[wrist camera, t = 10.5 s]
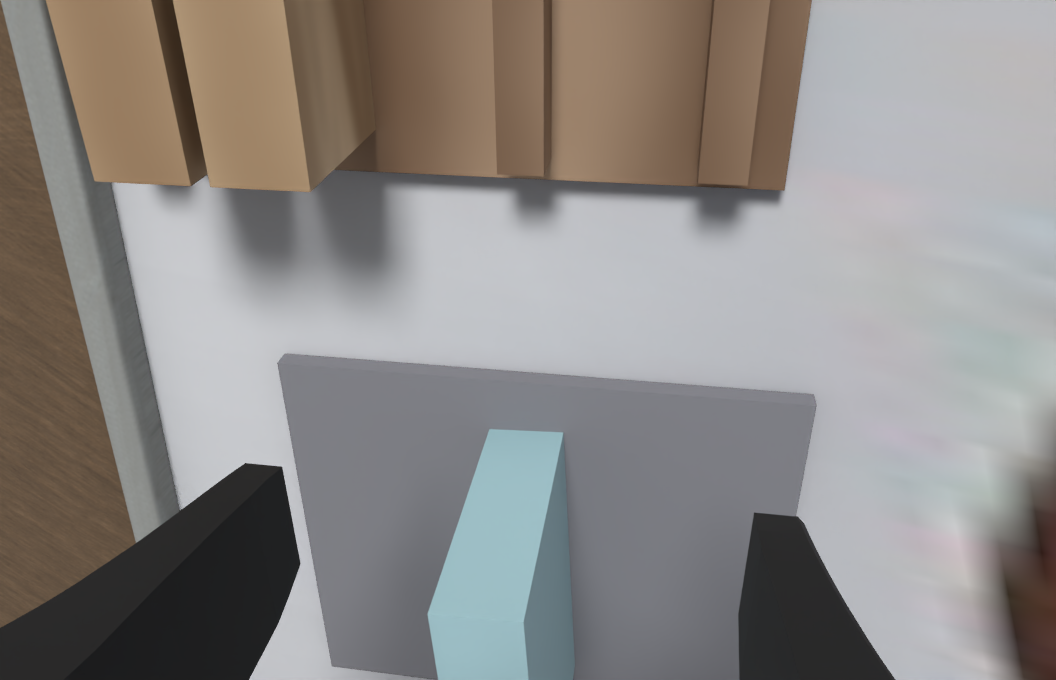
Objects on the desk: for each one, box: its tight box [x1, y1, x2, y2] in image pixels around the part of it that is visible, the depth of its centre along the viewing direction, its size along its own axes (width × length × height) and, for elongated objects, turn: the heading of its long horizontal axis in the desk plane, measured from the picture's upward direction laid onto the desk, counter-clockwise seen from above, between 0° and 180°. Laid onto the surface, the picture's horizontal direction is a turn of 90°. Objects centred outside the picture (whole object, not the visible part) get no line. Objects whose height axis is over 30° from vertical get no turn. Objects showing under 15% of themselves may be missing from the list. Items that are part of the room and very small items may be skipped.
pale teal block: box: [428, 429, 575, 680], centre depth 23 cm, size 2×9×6 cm, turn 4°
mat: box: [277, 354, 816, 680], centre depth 26 cm, size 14×12×1 cm
